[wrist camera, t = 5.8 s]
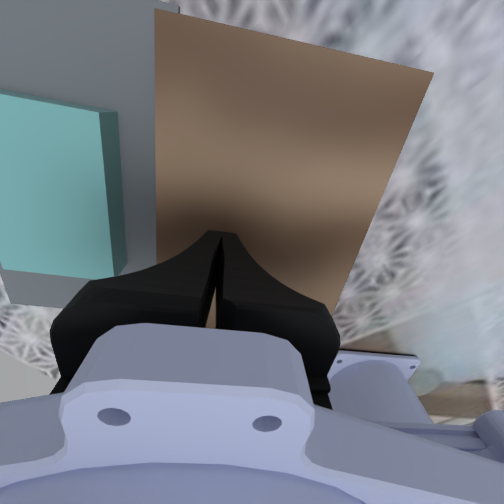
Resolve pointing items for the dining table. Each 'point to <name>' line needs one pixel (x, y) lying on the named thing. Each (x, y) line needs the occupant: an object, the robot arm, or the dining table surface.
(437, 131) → the dining table surface
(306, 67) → the brown wooden block
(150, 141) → the mat
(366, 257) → the dining table surface
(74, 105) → the teal block
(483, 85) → the dining table surface
